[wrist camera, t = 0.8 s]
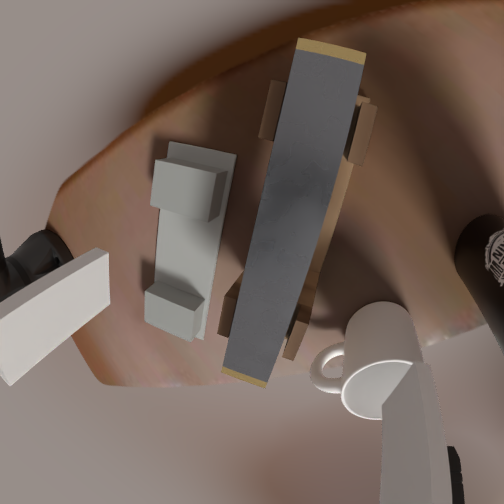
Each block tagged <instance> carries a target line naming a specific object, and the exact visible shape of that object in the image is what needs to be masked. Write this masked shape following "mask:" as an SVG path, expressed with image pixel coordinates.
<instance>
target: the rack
mask: <svg viewBox="0 0 504 504" xmlns="http://www.w3.org/2000/svg"><path fill="white" fill-rule="evenodd" d="M287 84H288V83H287V82H282V81H277V80H272V79H271V83H270V87H269V91H268V96H267V100H266V104H265V109H264V113H263V117H262V122H261V126H260V131H259V135H258V138H262V139H266V140H270V141H274V140H275V135H276V131H277V127H278V122H279V118H280V114H281V110H282V105H283V101H284V97H285V93H286V88H287ZM369 103H370V99H369V98H366V97H363V96H360V95H357V99H356V104H355V108H354V112H353V116H352V120H351V125H350V129H349V133H348V136H347V140H346V144H345V148H344V152H343V156H342V159H341V163H340V167H339V170H338V174H337V178H336V181H335V185H334V188H333V192H332V195H331V199H330V202H329V205H328V209H327V212H326V216H325V219H324V222H323V225H322V229H321V232H320V235H319V238H318V241H317V245H316V248H315V251H314V254H313V257H312V260H311V263H310V266H309V269H308V272H307V275H306V278H305V281H304V284H303V287H302V290H301V293H300V296H299V299H298V302H297V304H296V307H295V310H294V313H293V316H292V319H291V321H290V324H289V327H288V330H287V332H286V335H285V339H288V340H287V343H286V346H285V349H284V353H283V356H282V357H283V358H286V359H289V360H292V361H293V360H294V358H295V356H296V353H297V351H298V349H299V346H300V344H301V342H302V339H303V337H304V334H305V332H306V329H307V327H308V325H309V320H310V316H311V311H312V307H313V302H314V298H315V293H316V288H317V284H318V279H319V274H320V271H321V268H322V265H323V262H324V259H325V256H326V253H327V250H328V247H329V244H330V241H331V238H332V235H333V232H334V229H335V226H336V223H337V220H338V216H339V213H340V210H341V207H342V203H343V200H344V197H345V193H346V190H347V187H348V183H349V180H350V176H351V173H352V169H353V166H354V164H356V165H359V166H362V167H363V163H364V159H365V156H366V152H367V148H368V145H369V141H370V137H371V133H372V129H373V125H374V121H375V117H376V113H377V108H378V106H375V105H372V104H369ZM243 274H244V271H243V272H242V274H241V275H240V276H239V278H238V279H237V280H236V282H235V283H234V284H233V285H232V287H231V288H230V289H229V291H228V292H227V293H226V295H225V296H224V301H223V306H222V312H221V317H220V322H219V327H218V332H217V334H219V335H222V336H225V337H227V338H228V337H229V336H230V331H231V327H232V322H233V318H234V314H235V309H236V305H237V300H238V296H239V292H240V287H241V283H242V279H243Z"/></svg>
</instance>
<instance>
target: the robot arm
mask: <svg viewBox="0 0 504 504" xmlns="http://www.w3.org/2000/svg"><path fill="white" fill-rule="evenodd" d="M108 305H110V291H109V253H108V252H106V251H104V250H101V249H99V248H97V247H96V248H94V249H92V250H90V251H88V252H87V253H85V254H83V255H81V256H79V257H77V258H75V259H74V260H73V258H72V256H71V254H70V252H69V250H68V248H67V247H66V245H65V244H64V243H63V241H62V240H61V239H60V238H59V237H58V236H57V235H56V234H54V233H53V232H51V231H49V230H41V231H39V232H36V233H34V234H32V235H31V236H30V237H29V238H28V239H27V240H26V241H25V242H24V243H23V244H22V245H21V246H20V247H19V248H18V249H17V250H16V251H15V252H14V253H13V254H12V255H11V256H9V257H7V258H5V257H4V253H3V248H2V244H1V239H0V376H1V377H2V378H3V379H4V381H5V382H6V383H7V384H8V385H9V386H11V385H12V384H14V383H15V382H16V381H17V380H18V379H19V378H20V377H21V376H23V375H24V374H25V373H26V372H27V371H29V370H30V369H31V368H32V367H33V366H34V365H36V364H37V363H38V362H39V361H40V360H41V359H42V358H44V357H45V356H46V355H47V354H49V353H50V352H51V351H52V350H53V349H55V348H56V347H57V346H58V345H59V344H61V343H62V342H63V341H64V340H66V339H67V338H68V337H69V336H71V335H72V334H73V333H74V332H75V331H77V330H78V329H79V328H80V327H82V326H83V325H84V324H85V323H87V322H88V321H89V320H90V319H92V318H93V317H94V316H96V315H97V314H98V313H99V312H101V311H102V310H103V309H104V308H106V307H107V306H108ZM379 504H465V503H464V491H463V484H462V474H461V464H460V458H459V456H458V454H457V452H456V450H455V448H454V447H452V446H447V444H446V438H445V431H444V426H443V420H442V415H441V409H440V405H439V400H438V395H437V391H436V386H435V382H434V378H433V374H432V370H431V366H430V365H429V364H425V363H421V362H418V361H414V363H413V364H412V365H411V367H410V368H409V370H408V371H407V373H406V374H405V375H404V377H403V378H402V379H401V381H400V382H399V384H398V385H397V386H396V388H395V389H394V390H393V391H392V393H391V394H390V395H389V397H388V398H387V399H386V400H385V402H384V403H383V404H382V469H381V487H380V501H379Z"/></svg>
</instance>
